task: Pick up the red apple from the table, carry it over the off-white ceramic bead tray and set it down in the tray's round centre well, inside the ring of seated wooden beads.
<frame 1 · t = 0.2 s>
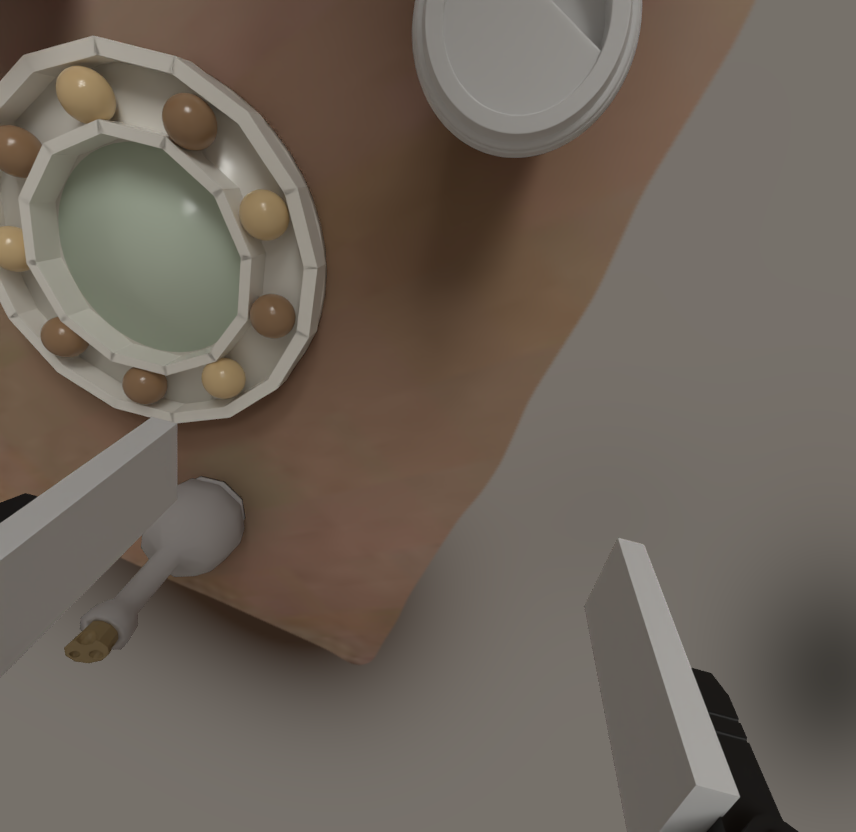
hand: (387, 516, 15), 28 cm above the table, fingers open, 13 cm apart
bead tray: (163, 253, 41), on the table
coffee cup: (515, 80, 34), on the table
potion bottle: (213, 505, 52), on the table
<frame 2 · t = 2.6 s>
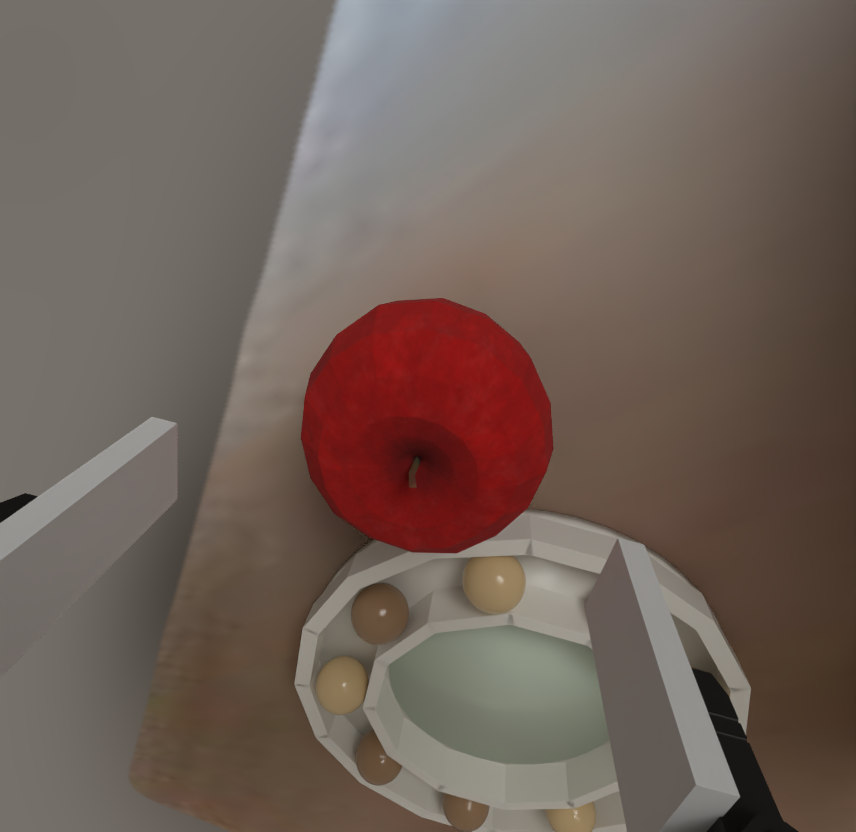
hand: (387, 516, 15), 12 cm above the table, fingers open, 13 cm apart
bead tray: (507, 673, 35), on the table
apple: (446, 367, 26), on the table
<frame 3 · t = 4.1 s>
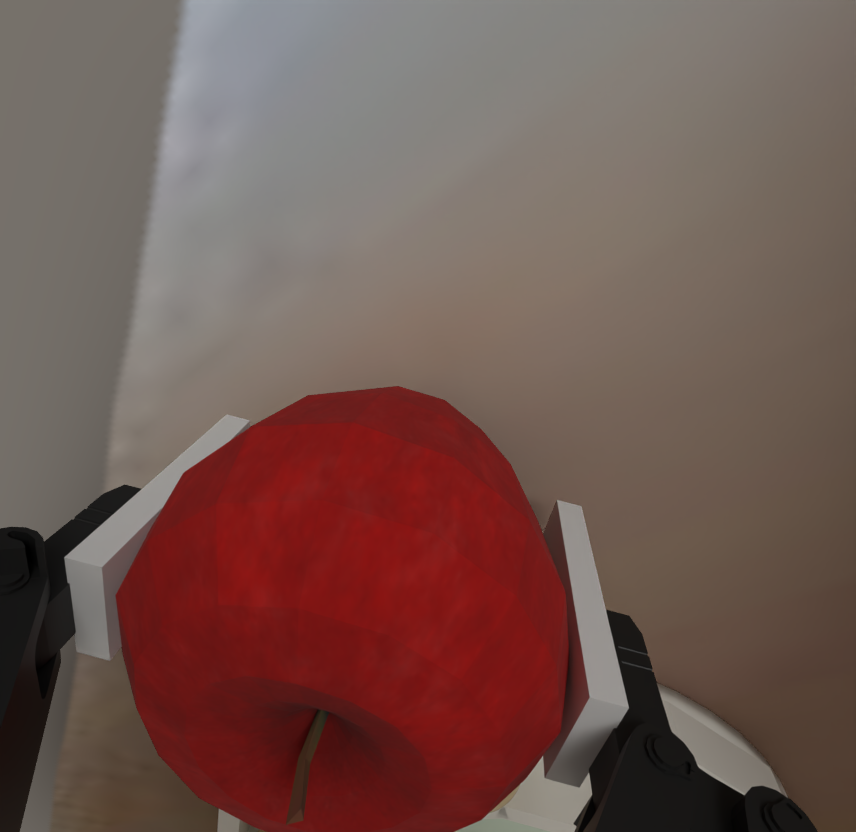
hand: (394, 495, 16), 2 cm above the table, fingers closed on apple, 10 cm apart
apple: (404, 464, 18), on the table, touching gripper
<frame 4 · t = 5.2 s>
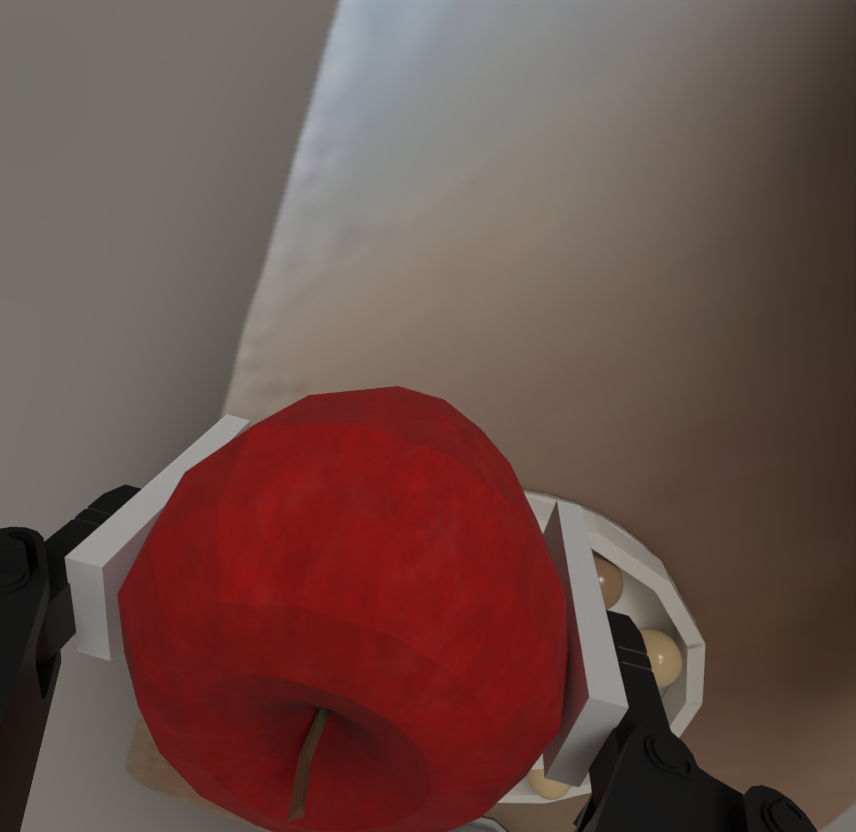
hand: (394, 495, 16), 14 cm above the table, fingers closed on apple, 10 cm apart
bead tray: (489, 644, 37), on the table
apple: (405, 464, 18), point 12 cm above the table, touching gripper
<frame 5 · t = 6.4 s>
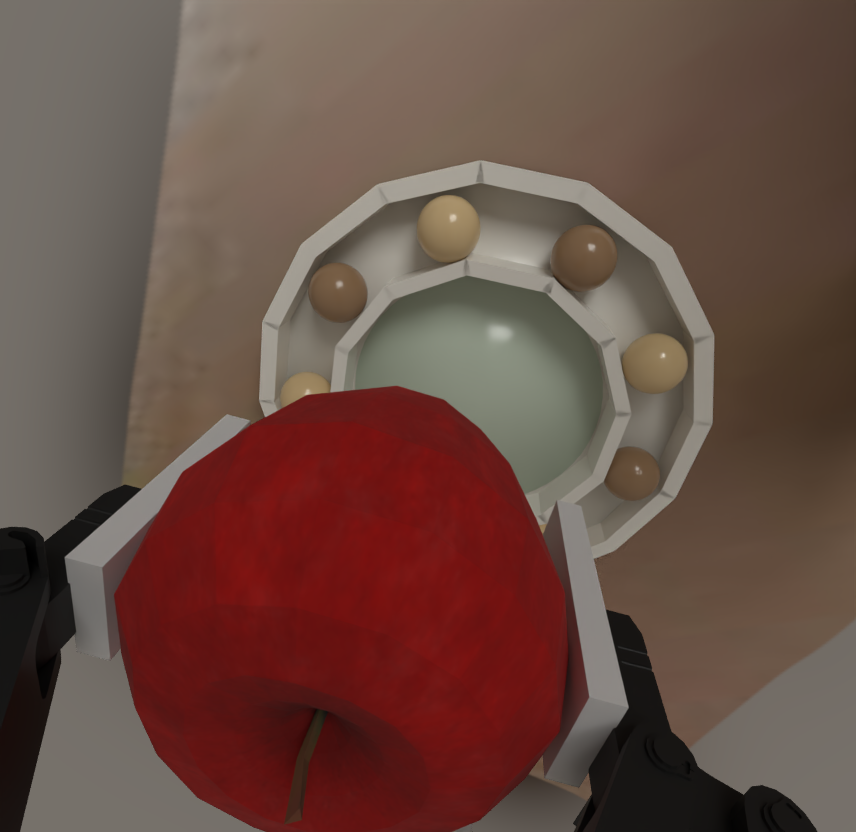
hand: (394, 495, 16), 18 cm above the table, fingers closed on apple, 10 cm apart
bead tray: (475, 392, 34), on the table
apple: (404, 463, 18), point 16 cm above the table, touching gripper
when the fingers open (5 cm above the table, at t = 9.2 s): apple drops 2 cm, resting on bead tray.
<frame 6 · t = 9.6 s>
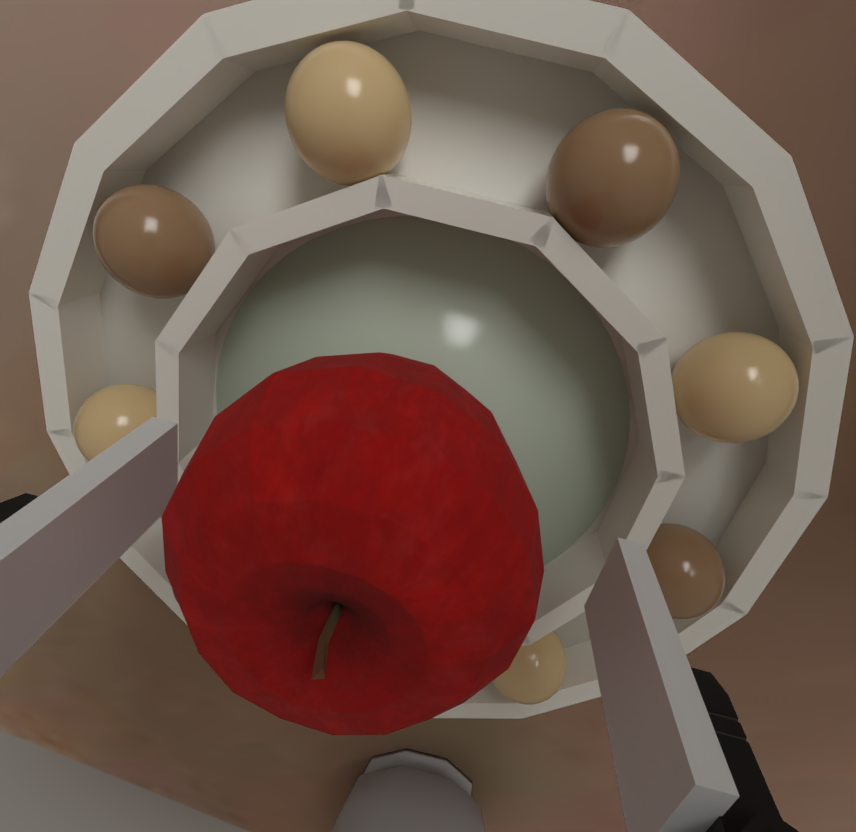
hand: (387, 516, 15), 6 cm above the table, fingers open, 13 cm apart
bead tray: (418, 424, 21), on the table
apple: (401, 430, 20), point 1 cm above the table, touching bead tray
potion bottle: (417, 783, 32), on the table
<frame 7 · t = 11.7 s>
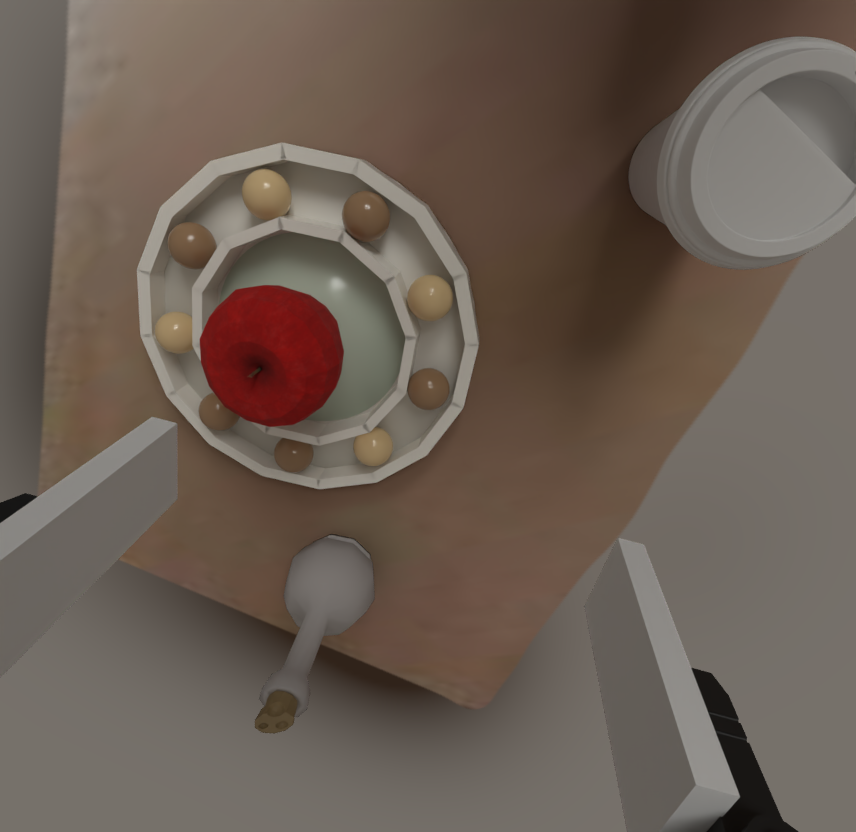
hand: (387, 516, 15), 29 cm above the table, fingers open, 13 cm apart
bead tray: (315, 330, 43), on the table
coffee cup: (676, 169, 36), on the table
apple: (305, 331, 43), point 1 cm above the table, touching bead tray
potion bottle: (340, 560, 54), on the table
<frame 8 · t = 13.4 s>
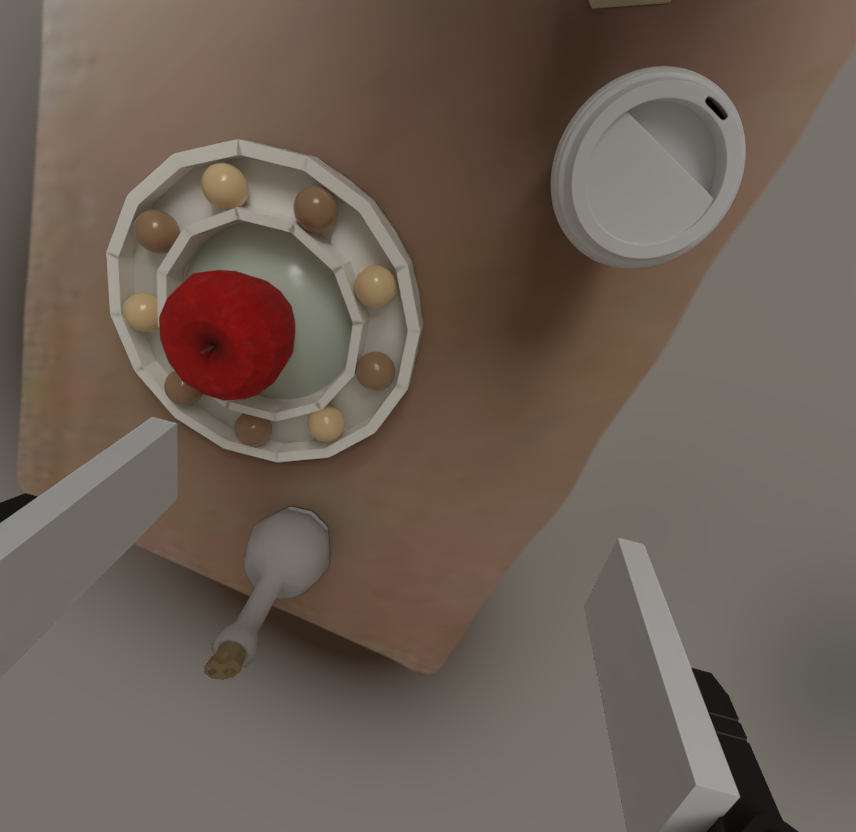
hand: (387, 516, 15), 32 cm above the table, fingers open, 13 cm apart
bead tray: (273, 313, 47), on the table
coffee cup: (601, 174, 39), on the table
apple: (263, 314, 46), point 1 cm above the table, touching bead tray
potion bottle: (300, 531, 57), on the table
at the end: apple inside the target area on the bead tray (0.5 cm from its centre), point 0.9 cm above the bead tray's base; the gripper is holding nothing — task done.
